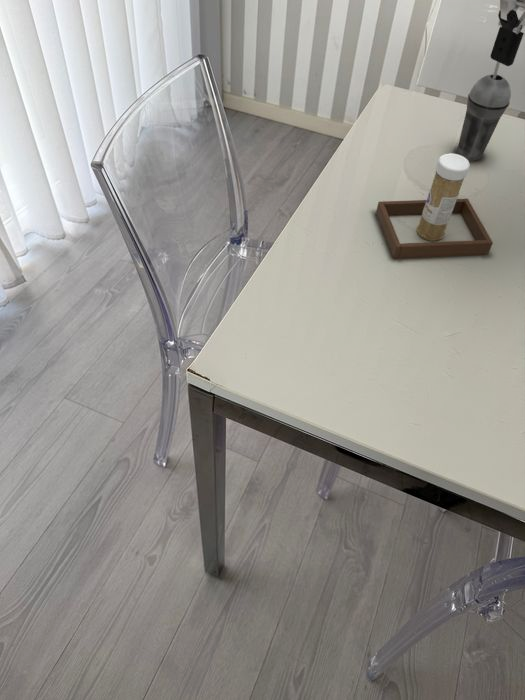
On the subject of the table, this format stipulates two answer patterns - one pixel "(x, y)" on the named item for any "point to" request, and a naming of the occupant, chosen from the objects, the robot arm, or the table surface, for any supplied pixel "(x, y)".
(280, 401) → the table surface
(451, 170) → the sprinkles bottle
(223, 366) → the table surface
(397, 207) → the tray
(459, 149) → the beverage cup
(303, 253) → the table surface
